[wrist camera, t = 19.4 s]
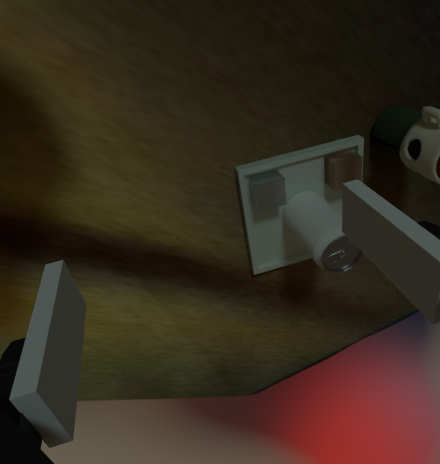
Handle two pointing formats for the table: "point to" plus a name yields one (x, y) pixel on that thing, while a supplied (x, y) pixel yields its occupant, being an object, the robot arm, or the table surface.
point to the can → (321, 232)
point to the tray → (296, 181)
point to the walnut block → (342, 168)
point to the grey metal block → (268, 190)
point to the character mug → (412, 138)
